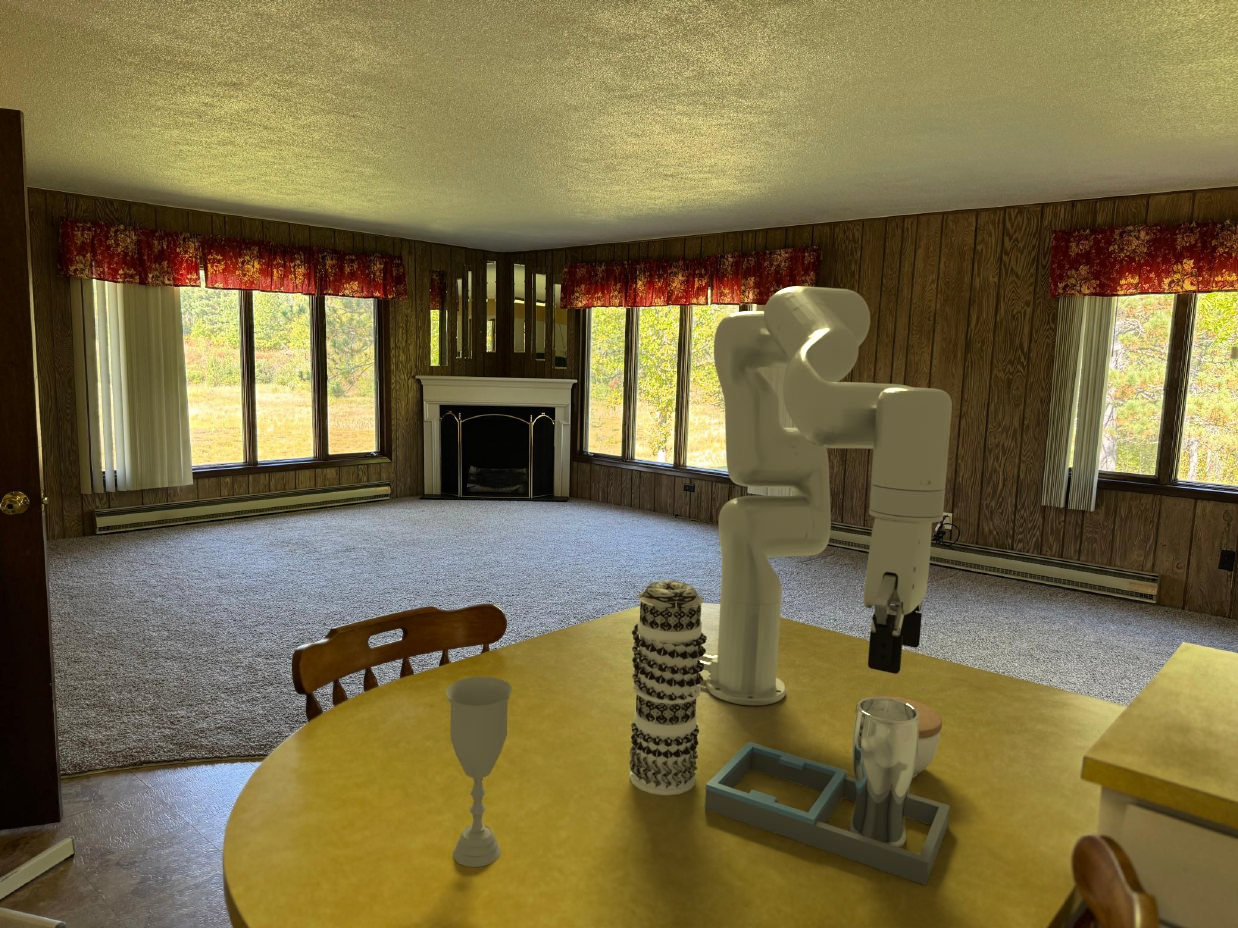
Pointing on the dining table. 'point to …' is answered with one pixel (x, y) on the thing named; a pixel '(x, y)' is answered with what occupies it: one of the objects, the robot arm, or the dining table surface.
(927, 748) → the lidded jar
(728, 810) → the slot frame
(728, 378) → the robot arm
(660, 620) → the decorative candle
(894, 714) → the beer glass
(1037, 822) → the dining table surface
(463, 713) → the chalice
